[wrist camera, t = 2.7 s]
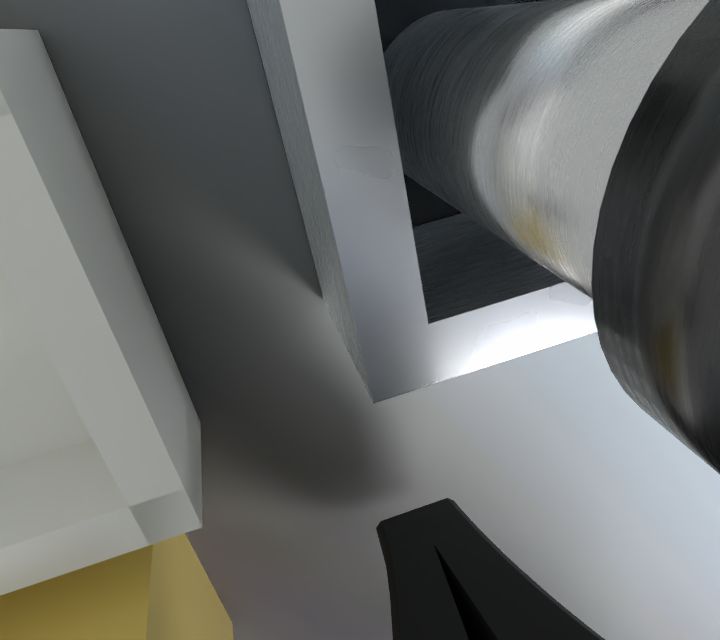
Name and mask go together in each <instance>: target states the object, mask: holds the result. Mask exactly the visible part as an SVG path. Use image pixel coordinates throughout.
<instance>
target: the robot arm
mask: <svg viewBox="0 0 720 640" xmlns="http://www.w3.org/2000/svg"><path fill="white" fill-rule="evenodd" d="M376 529H377V533H378V537H379V541H380V544H381V548H382V552H383V556H384V560H385V563H386V568H387V575H388V583H389V591H390V601H391V616H392V631H393V640H605V639H603V638H602V637H601V636H600V635H598V634H597V633H596V632H594V631H593V630H592V629H591V628H589V627H588V626H587V625H586V624H584V623H583V622H582V621H581V620H579V619H578V618H577V617H576V616H574V615H573V614H572V613H571V612H569V611H568V610H567V609H566V608H565V607H563V606H562V605H561V604H560V603H559V602H557V601H556V600H555V599H554V598H553V597H552V596H550V595H549V594H548V593H547V592H546V591H545V590H544V589H542V588H541V587H540V586H539V585H538V584H537V583H536V582H535V581H533V580H532V579H531V578H530V577H529V576H528V575H527V574H526V573H524V572H523V571H522V570H521V569H520V568H519V567H518V566H517V565H516V564H514V563H513V562H512V561H511V560H510V559H509V558H508V557H507V556H506V555H505V554H504V553H503V552H502V551H501V550H500V549H499V548H498V547H497V546H496V545H495V544H494V543H493V542H492V541H491V540H490V539H489V538H488V537H487V536H486V535H485V534H484V533H483V532H482V531H481V530H480V529H479V528H478V527H477V526H476V525H475V524H474V523H473V522H472V521H471V520H470V519H469V518H468V516H467V515H466V514H465V513H464V512H463V511H462V510H461V509H460V507H459V506H458V505H457V504H456V503H455V502H454V501H453V500H451V499H449V498H446V499H443V500H440V501H437V502H434V503H432V504H429V505H426V506H423V507H420V508H417V509H414V510H412V511H409V512H406V513H403V514H400V515H397V516H394V517H391V518H389V519H386V520H383V521H381V522H380V523H379V525H378V526H377V528H376Z"/></svg>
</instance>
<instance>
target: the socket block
mask: <svg viewBox="0 0 720 640" xmlns="http://www.w3.org/2000/svg"><path fill="white" fill-rule="evenodd" d="M247 4H248V8H249V12H250V15H251V19H252V23H253V27H254V31H255V35H256V39H257V43H258V47H259V50H260V54H261V58H262V62H263V66H264V70H265V74H266V78H267V82H268V85H269V89H270V93H271V97H272V101H273V105H274V109H275V113H276V117H277V120H278V124H279V128H280V132H281V136H282V140H283V144H284V148H285V151H286V155H287V159H288V163H289V167H290V171H291V175H292V179H293V183H294V186H295V190H296V194H297V198H298V202H299V206H300V210H301V214H302V218H303V221H304V225H305V229H306V233H307V237H308V241H309V245H310V249H311V252H312V256H313V260H314V264H315V268H316V272H317V276H318V280H319V284H320V287H321V291H322V295H323V299H324V302H325V304H326V306H327V308H328V310H329V313H330V315H331V317H332V319H333V321H334V323H335V325H336V327H337V329H338V331H339V333H340V335H341V337H342V339H343V341H344V343H345V345H346V347H347V349H348V352H349V354H350V356H351V358H352V360H353V362H354V364H355V366H356V368H357V370H358V372H359V374H360V376H361V378H362V380H363V382H364V384H365V386H366V388H367V390H368V393H369V395H370V397H371V399H372V401H373V403H376V402H379V401H382V400H385V399H389V398H392V397H395V396H398V395H401V394H404V393H407V392H410V391H413V390H416V389H420V388H423V387H426V386H429V385H432V384H435V383H438V382H441V381H444V380H448V379H451V378H454V377H457V376H460V375H463V374H466V373H469V372H472V371H476V370H479V369H482V368H485V367H488V366H491V365H494V364H497V363H500V362H503V361H507V360H510V359H513V358H516V357H519V356H522V355H525V354H528V353H531V352H535V351H538V350H541V349H544V348H547V347H550V346H553V345H556V344H559V343H563V342H566V341H569V340H572V339H575V338H578V337H581V336H584V335H587V334H590V333H594V332H597V328H596V323H595V319H594V311H593V299H591V298H590V297H588V296H587V295H585V294H584V293H582V292H581V291H579V290H578V289H576V288H575V287H573V286H572V285H570V284H569V283H567V282H566V281H564V280H563V279H561V278H560V277H558V276H557V275H555V274H554V273H552V272H551V271H549V270H548V269H546V268H545V267H543V266H542V265H540V264H539V263H537V262H536V261H534V260H533V259H531V258H530V257H528V256H527V255H525V254H524V253H522V252H521V251H519V250H518V249H516V248H515V247H513V246H512V245H510V244H509V243H507V242H506V241H504V240H503V239H501V238H499V237H498V236H496V235H495V234H493V233H492V232H490V231H489V230H487V229H486V228H484V227H483V226H481V225H480V224H478V223H477V222H475V221H474V220H472V219H471V218H469V217H468V216H466V215H465V214H463V213H461V214H458V215H454V216H451V217H447V218H444V219H440V220H437V221H433V222H430V223H426V224H423V225H419V226H416V227H412V223H411V217H410V211H409V205H408V199H407V193H406V187H405V181H404V175H403V169H402V163H401V157H400V151H399V145H398V139H397V133H396V127H395V121H394V115H393V109H392V103H391V97H390V91H389V85H388V79H387V73H386V67H385V61H384V55H383V49H382V43H381V37H380V31H379V25H378V19H377V13H376V7H375V1H374V0H247Z"/></svg>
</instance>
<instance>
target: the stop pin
mask: <svg viewBox="0 0 720 640" xmlns="http://www.w3.org/2000/svg"><path fill="white" fill-rule="evenodd" d="M383 55H384V61H385V67H386V73H387V79H388V85H389V91H390V97H391V103H392V109H393V115H394V121H395V127H396V133H397V139H398V145H399V151H400V157H401V163H402V169H403V174H405V175H406V176H408V177H409V178H411V179H412V180H414V181H415V182H417V183H418V184H420V185H421V186H423V187H424V188H426V189H427V190H429V191H430V192H432V193H433V194H435V195H436V196H438V197H439V198H441V199H442V200H444V201H445V202H447V203H448V204H450V205H451V206H453V207H454V208H456V209H457V210H459V211H460V212H462V213H463V214H465V215H466V216H468V217H469V218H471V219H472V220H474V221H475V222H477V223H478V224H480V225H481V226H483V227H484V228H486V229H487V230H489V231H490V232H492V233H493V234H495V235H496V236H498V237H499V238H501V239H503V240H504V241H506V242H507V243H509V244H510V245H512V246H513V247H515V248H516V249H518V250H519V251H521V252H522V253H524V254H525V255H527V256H528V257H530V258H531V259H533V260H534V261H536V262H537V263H539V264H540V265H542V266H543V267H545V268H546V269H548V270H549V271H551V272H552V273H554V274H555V275H557V276H558V277H560V278H561V279H563V280H564V281H566V282H567V283H569V284H570V285H572V286H573V287H575V288H576V289H578V290H579V291H581V292H582V293H584V294H585V295H587V296H588V297H590V298H591V299H593V311H594V319H595V323H596V328H597V332H598V336H599V340H600V345H601V348H602V350H603V352H604V355H605V357H606V359H607V362H608V364H609V367H610V369H611V371H612V373H613V374H614V376H615V377H616V379H617V380H618V382H619V383H620V385H621V386H622V388H623V390H624V391H625V392H626V393H627V394H628V395H629V396H630V397H631V398H632V399H633V400H634V402H635V403H636V404H637V405H638V406H639V407H640V408H641V409H643V410H644V411H645V412H646V413H647V414H649V415H650V416H651V417H652V418H653V419H654V420H656V421H657V422H658V423H659V424H660V425H662V426H663V427H664V428H665V429H666V430H668V431H669V432H670V433H671V434H672V435H674V436H675V437H676V438H677V439H678V440H680V441H681V442H682V443H683V444H684V445H686V446H687V447H688V448H689V449H690V450H692V451H693V452H694V453H695V454H696V455H698V456H699V457H700V458H701V459H702V460H704V461H705V462H706V463H707V464H708V465H710V466H711V467H712V468H713V469H714V470H715V471H717V472H718V473H719V474H720V0H548V1H537V2H526V3H516V4H505V5H495V6H484V7H473V8H463V9H452V10H445V11H438V12H435V13H432V14H429V15H426V16H424V17H422V18H420V19H418V20H416V21H415V22H413V23H412V24H410V25H409V26H407V27H406V28H405V29H404V30H403V31H402V32H401V33H400V34H399V35H398V36H397V37H396V38H395V39H394V40H393V41H392V43H391V44H390V45H389V47H388V48H387V50H386V51H385V53H384V54H383Z"/></svg>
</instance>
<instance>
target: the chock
mask: <svg viewBox="0 0 720 640" xmlns="http://www.w3.org/2000/svg"><path fill="white" fill-rule="evenodd" d="M0 640H234V634H233V623H232V621H231V620H230V618H229V616H228V614H227V612H226V610H225V608H224V606H223V604H222V602H221V601H220V599H219V597H218V595H217V593H216V591H215V589H214V587H213V585H212V583H211V582H210V580H209V578H208V576H207V574H206V572H205V570H204V568H203V566H202V564H201V562H200V561H199V559H198V557H197V555H196V553H195V551H194V549H193V547H192V545H191V543H190V542H189V540H188V538H187V536H186V534H182V535H179V536H176V537H173V538H170V539H167V540H164V541H161V542H158V543H155V544H152V545H149V546H146V547H143V548H140V549H137V550H134V551H131V552H128V553H125V554H122V555H119V556H116V557H113V558H110V559H107V560H104V561H102V562H99V563H96V564H93V565H90V566H87V567H84V568H81V569H78V570H75V571H72V572H69V573H66V574H63V575H60V576H57V577H54V578H51V579H48V580H45V581H42V582H39V583H36V584H33V585H30V586H27V587H24V588H21V589H18V590H15V591H12V592H10V593H7V594H4V595H1V596H0Z"/></svg>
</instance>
